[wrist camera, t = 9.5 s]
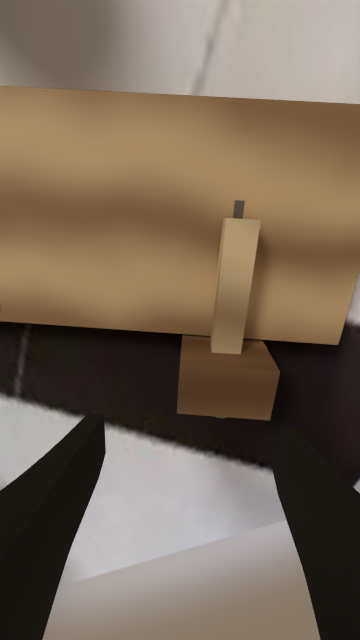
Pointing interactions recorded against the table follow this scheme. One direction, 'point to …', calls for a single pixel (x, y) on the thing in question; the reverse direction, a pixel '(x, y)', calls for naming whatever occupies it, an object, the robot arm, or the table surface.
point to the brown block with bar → (229, 341)
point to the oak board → (176, 210)
